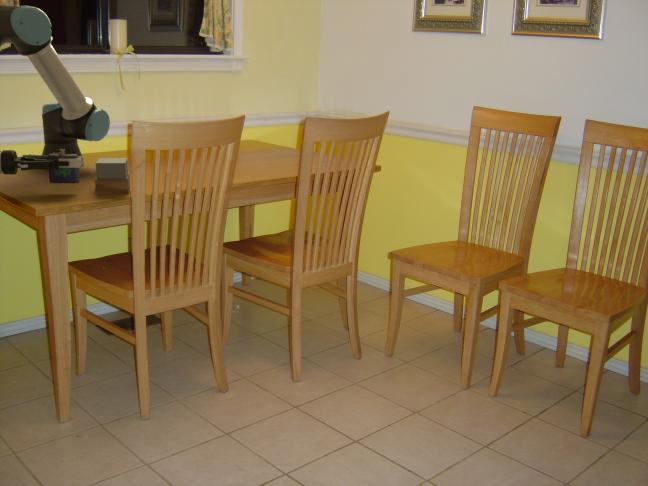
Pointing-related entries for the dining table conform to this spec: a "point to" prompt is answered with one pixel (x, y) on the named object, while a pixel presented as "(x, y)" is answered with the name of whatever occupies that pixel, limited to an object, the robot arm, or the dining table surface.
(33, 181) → the dining table surface
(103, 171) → the tower top
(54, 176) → the flask
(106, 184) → the tower base
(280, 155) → the dining table surface
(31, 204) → the dining table surface
